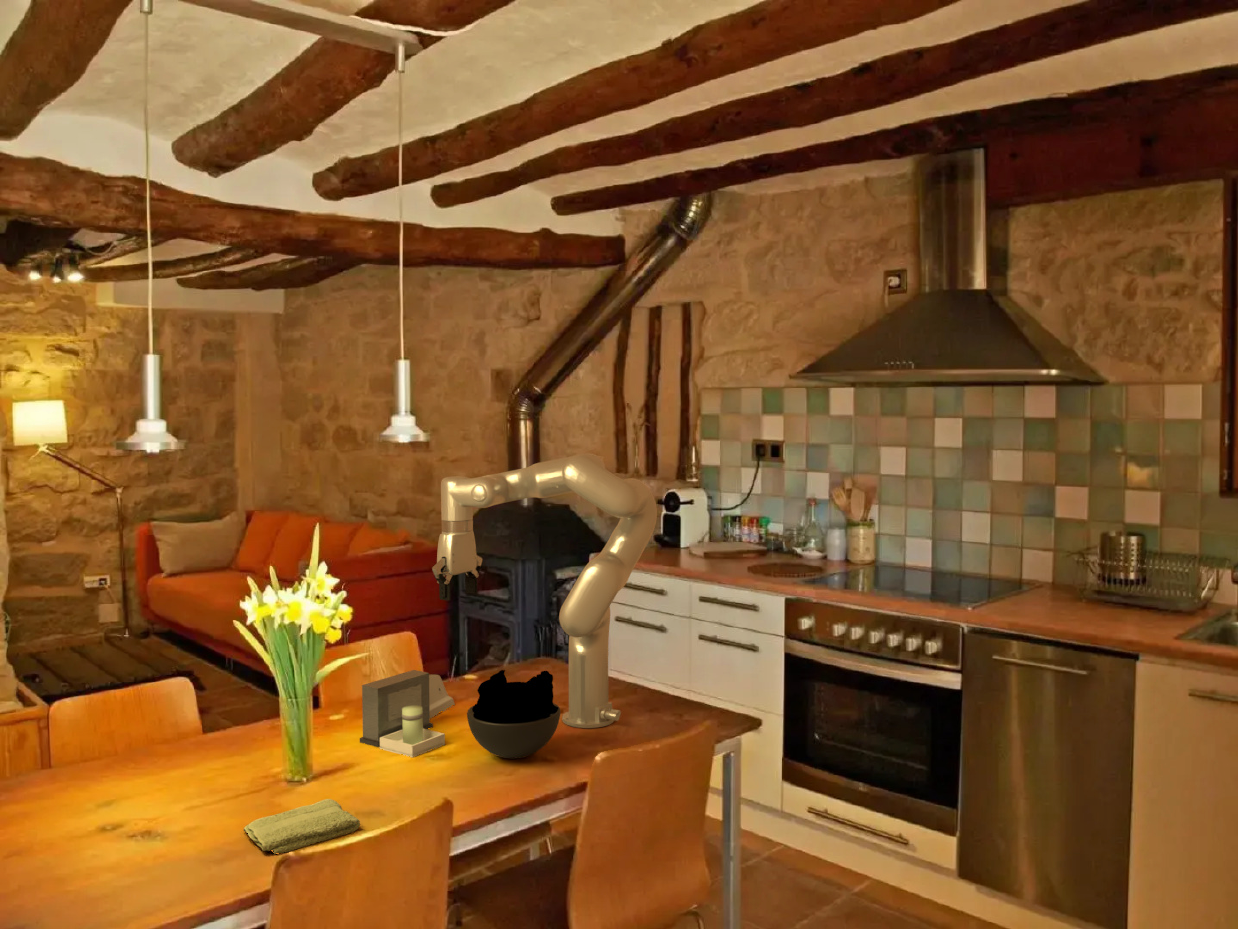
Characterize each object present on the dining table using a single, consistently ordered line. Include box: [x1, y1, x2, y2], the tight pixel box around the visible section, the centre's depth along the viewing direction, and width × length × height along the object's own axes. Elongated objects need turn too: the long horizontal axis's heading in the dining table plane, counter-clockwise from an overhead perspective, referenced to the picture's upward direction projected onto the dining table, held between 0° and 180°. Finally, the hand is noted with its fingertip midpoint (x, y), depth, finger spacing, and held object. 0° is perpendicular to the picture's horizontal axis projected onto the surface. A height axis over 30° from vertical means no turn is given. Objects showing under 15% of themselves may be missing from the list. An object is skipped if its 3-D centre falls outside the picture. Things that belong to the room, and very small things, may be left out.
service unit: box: [359, 669, 434, 748], centre depth 236 cm, size 6×17×13 cm, turn 146°
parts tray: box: [379, 729, 446, 758], centre depth 228 cm, size 10×10×2 cm
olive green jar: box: [402, 705, 423, 745], centre depth 228 cm, size 5×5×8 cm
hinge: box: [429, 674, 456, 719], centre depth 253 cm, size 17×5×10 cm, turn 161°
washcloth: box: [242, 798, 361, 855], centre depth 182 cm, size 13×18×3 cm
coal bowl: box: [466, 669, 561, 759], centre depth 221 cm, size 20×20×19 cm
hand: (458, 596), depth 252 cm, fingers open, 9 cm apart
